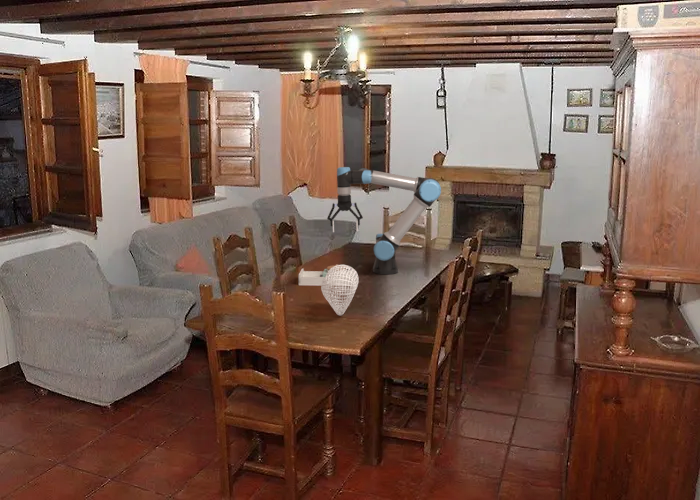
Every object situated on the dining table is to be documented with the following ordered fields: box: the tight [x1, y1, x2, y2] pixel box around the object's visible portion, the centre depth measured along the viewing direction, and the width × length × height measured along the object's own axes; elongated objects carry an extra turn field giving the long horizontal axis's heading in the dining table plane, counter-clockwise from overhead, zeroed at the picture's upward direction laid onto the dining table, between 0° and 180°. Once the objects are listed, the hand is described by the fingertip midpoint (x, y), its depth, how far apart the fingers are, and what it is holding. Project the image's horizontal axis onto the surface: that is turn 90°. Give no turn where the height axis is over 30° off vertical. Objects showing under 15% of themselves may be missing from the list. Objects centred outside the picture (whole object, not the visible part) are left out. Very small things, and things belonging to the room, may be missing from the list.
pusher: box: [320, 268, 328, 277], centre depth 363 cm, size 4×12×5 cm, turn 177°
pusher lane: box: [298, 268, 355, 287], centre depth 363 cm, size 31×15×6 cm, turn 87°
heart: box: [320, 264, 359, 316], centre depth 300 cm, size 28×16×22 cm, turn 174°
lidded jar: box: [326, 263, 346, 277], centre depth 362 cm, size 11×11×9 cm
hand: (345, 231), depth 373 cm, fingers open, 13 cm apart
